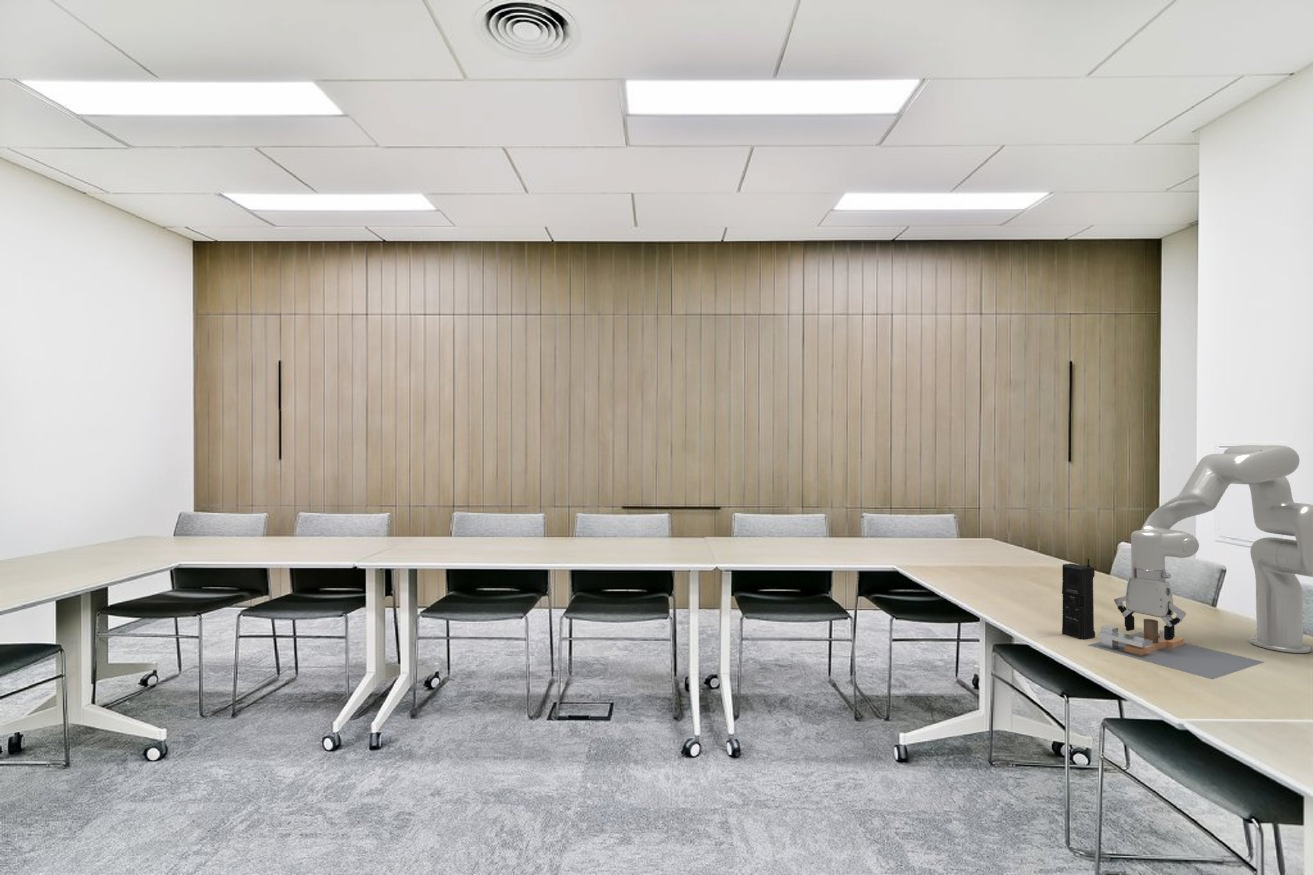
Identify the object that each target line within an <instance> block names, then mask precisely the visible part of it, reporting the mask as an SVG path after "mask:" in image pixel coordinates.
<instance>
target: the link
mask: <svg viewBox="0 0 1313 875" xmlns="http://www.w3.org/2000/svg"><path fill="white" fill-rule="evenodd" d="M1143 633H1144V639H1149V640H1153V645H1150V646H1147V647H1143V648H1142V647H1138V646H1134V645H1131V644H1127V645H1125V651H1126V652H1130V653H1134V654H1138V655H1144V654H1147V653H1150V652H1153V651H1155V650H1158V649H1161V648H1164V647H1170V648H1175V647H1178V646H1180V645H1183V644H1184V643H1185V639H1184V638H1182V637H1177V636H1174V638H1173V639H1172V640H1168V641H1167V640H1165V639H1162V638H1160V632H1159V621H1158V620H1157V619H1153V618H1143Z"/></svg>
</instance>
